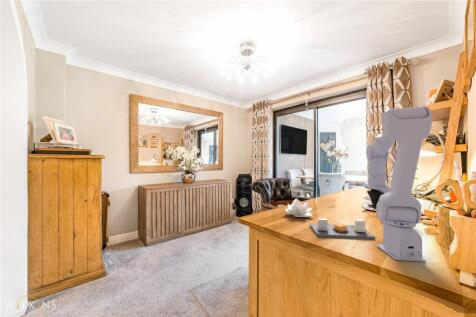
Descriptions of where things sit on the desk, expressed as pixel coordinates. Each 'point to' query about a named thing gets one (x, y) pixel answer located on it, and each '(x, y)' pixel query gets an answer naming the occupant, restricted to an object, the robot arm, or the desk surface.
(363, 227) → the toggle lever
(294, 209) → the lotus flower
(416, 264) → the desk surface
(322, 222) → the grey slider knob
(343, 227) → the push button
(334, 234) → the panel
